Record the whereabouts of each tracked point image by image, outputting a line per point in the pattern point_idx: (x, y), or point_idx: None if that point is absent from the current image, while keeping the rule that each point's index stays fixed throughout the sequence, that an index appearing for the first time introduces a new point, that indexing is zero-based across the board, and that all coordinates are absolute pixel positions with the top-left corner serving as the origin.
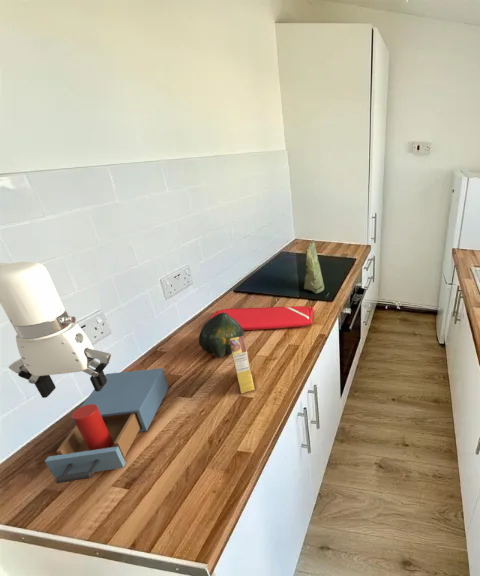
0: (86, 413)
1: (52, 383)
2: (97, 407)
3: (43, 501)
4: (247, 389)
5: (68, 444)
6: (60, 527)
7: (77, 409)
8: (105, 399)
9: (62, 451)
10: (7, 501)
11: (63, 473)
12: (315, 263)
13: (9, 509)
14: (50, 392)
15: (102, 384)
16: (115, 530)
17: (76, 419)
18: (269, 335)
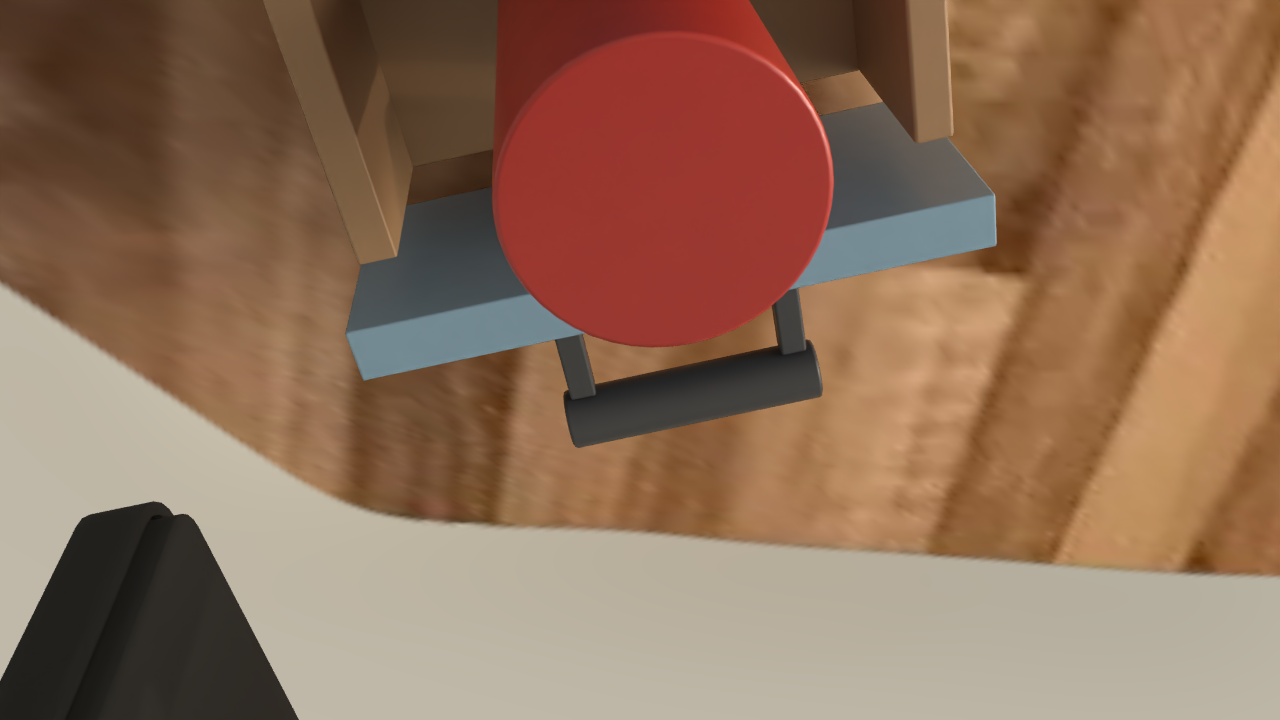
0: (724, 240)
1: (151, 673)
2: (801, 88)
3: (446, 382)
4: None
5: (363, 127)
6: (714, 512)
7: (507, 172)
8: None
9: (394, 226)
10: (173, 393)
11: (575, 382)
12: None
13: (257, 438)
14: (263, 677)
15: None
16: (1062, 509)
17: (646, 340)
18: None
